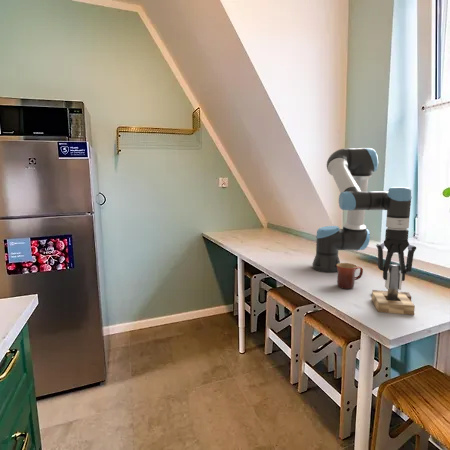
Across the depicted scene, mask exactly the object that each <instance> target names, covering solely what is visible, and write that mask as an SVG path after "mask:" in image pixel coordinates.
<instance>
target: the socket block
mask: <svg viewBox="0 0 450 450" xmlns="http://www.w3.org/2000/svg"><path fill="white" fill-rule="evenodd" d="M371 301H372V303H373V305H374V307H375V308H376V310H377V312H378V313H385V314H386V313H388V314H397V315H398V314H399V315H409V316H411V315H412V316H414V315H415V310H416V309H415V305H414V302H412V300H411V301H410V300H409V298H408V297H407V296H406V295H405V294H400V293H398V301H391V300H387V293H386V292H371Z"/></svg>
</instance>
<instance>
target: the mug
mask: <svg viewBox="0 0 450 450" xmlns="http://www.w3.org/2000/svg"><path fill="white" fill-rule="evenodd" d="M336 266H337V270H338V271H337V279H336V283H337V286H338V288H340V289H343V290H344V289H345V290H350V289H353V288H354V286H355V284H356V283H355V281H357V280H359V279H361V277H362V276H363V274H364V269H363V268H362V267H361V266H358V265H356V264H354V263H348V262H340V263H338V264H336ZM358 269H359V274H358V275H357V276H355V274H356V270H358Z"/></svg>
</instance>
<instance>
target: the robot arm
mask: <svg viewBox="0 0 450 450" xmlns="http://www.w3.org/2000/svg"><path fill="white" fill-rule="evenodd" d="M378 157H379V156H378V154H377V151H376V150H375V149H374V148H371V147H359V148H358V147H357V148H355V147H354V148H341V149H338V150H336V151H334V152H333V153H331V154H330V155H329V157H328V158H327V161H326V169H327V172H328V174H329V175H331V176H332V177H333V180H334V182H335V184H336V186H337V188H338V191H339V192H340V193H339V195H338V207H339V209H341V210H343V211H347V213H346V222H345V223H344V224H343V225H342V226H343V227H342V228H340V227H339V226H337V225H328V226H321V227H319V228H318V229H317V230H316V236H315V237H316V239H315V240H316V244H315V246H316V248H315V252H316V253H315V256H314V259H313V261H312V269H313V270H315V271H318V272H322V273H338V270H337V266H336V264H338V263H341V261H340V257H339V251H356V252H357V251H364V250H366V249H367V247H368V246H369V244H370V240H371V236H370V235H371V233H370V230H369V229H368V228H367V225H365V216H366V211H386V221H385V227H386V229H385V236H384V237H385V238H384V241H383V243H380V244H379V243H376V245H375V246H376V249H377V268H378V269H379V271H382V278H383V280H384V281H385V282H384V287H385V288H386V290H388V289H389V281H390V272H389V266H390V264H391V261H392V258H393V256H394V254H397V255H398V263H399V264H398V265H400V274H399V288H398V291H401V290H402V283H403V282H405V279H406V274H407V273H408V272H410V273H411V271H412V268H413V262H414V253H415V252H416V250H417V247H416V246H415V245H414V244H410V243H409V227H410V215H411V205H412V198H413V197H412V188H410V187H409V186H406V187H405V186H391V187H389V188H388V190H381V191H375V190H374V191H368V187H369V179H370V178H371V177H372V176H373V173H374V172H376V171H377V170H378V167H379V158H378ZM385 248H386V250H387V252H386V257H385V260H384V249H385ZM406 249H407V250H408V251H407V257H406V262H405V253H404V251H406Z"/></svg>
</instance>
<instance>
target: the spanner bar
mask: <svg viewBox="0 0 450 450" xmlns="http://www.w3.org/2000/svg"><path fill="white" fill-rule="evenodd" d="M372 292H386V293H388V290H378V289H372ZM372 292H371V293H372ZM398 293H400V294H405V295H406V296H407V297H408V298H409V300H410V301H411V302H412V296H411V294H410V292H408V291H398Z"/></svg>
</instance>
